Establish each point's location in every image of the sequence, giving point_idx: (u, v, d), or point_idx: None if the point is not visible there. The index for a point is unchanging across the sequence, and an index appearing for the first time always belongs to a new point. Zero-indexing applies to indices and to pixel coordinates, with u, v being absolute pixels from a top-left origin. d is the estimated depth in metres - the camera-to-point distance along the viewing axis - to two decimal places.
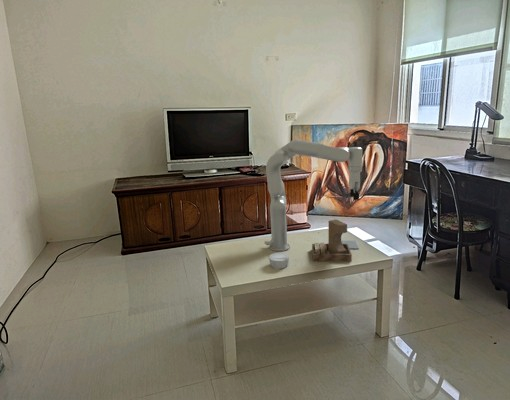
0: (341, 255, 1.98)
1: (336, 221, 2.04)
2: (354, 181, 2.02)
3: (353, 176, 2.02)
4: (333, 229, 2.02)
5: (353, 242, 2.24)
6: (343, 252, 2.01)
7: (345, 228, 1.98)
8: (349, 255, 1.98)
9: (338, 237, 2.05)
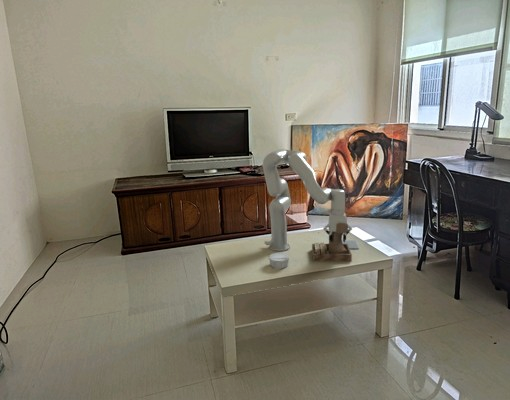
0: (341, 255, 1.98)
1: None
2: (346, 222, 2.01)
3: (346, 218, 1.99)
4: None
5: (353, 242, 2.24)
6: (343, 252, 2.01)
7: (346, 228, 1.98)
8: (349, 255, 1.98)
9: (339, 237, 2.05)
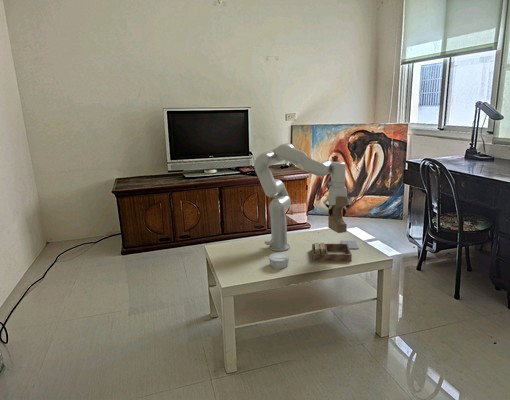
0: (341, 255, 1.98)
1: None
2: None
3: (346, 191, 1.96)
4: None
5: (353, 242, 2.24)
6: (343, 226, 1.98)
7: (345, 201, 1.95)
8: (349, 255, 1.98)
9: (338, 211, 2.01)
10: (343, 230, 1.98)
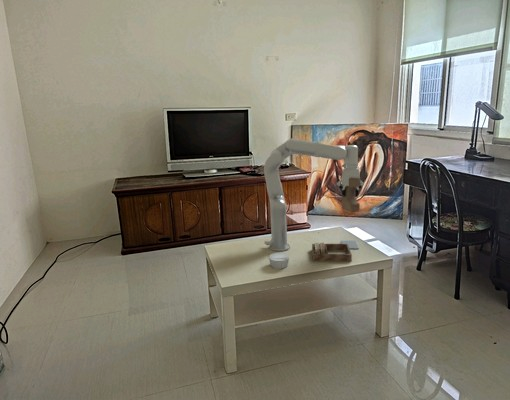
0: (341, 255, 1.98)
1: None
2: (359, 177, 2.10)
3: None
4: None
5: (353, 242, 2.24)
6: (356, 205, 2.10)
7: (358, 182, 2.07)
8: (349, 255, 1.98)
9: (351, 192, 2.14)
10: (356, 209, 2.11)
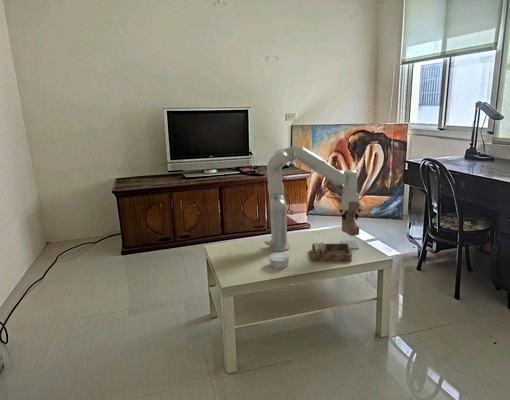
0: (341, 255, 1.98)
1: None
2: None
3: (358, 197, 2.12)
4: None
5: (353, 242, 2.24)
6: (356, 229, 2.14)
7: (357, 206, 2.11)
8: (349, 255, 1.98)
9: (351, 215, 2.17)
10: (356, 232, 2.14)
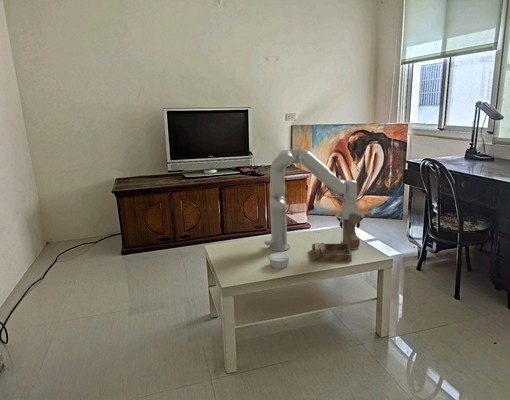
0: (341, 255, 1.98)
1: None
2: (358, 211, 2.14)
3: (358, 206, 2.13)
4: None
5: None
6: (356, 241, 2.15)
7: (358, 218, 2.12)
8: (349, 255, 1.98)
9: (352, 227, 2.19)
10: (356, 244, 2.16)
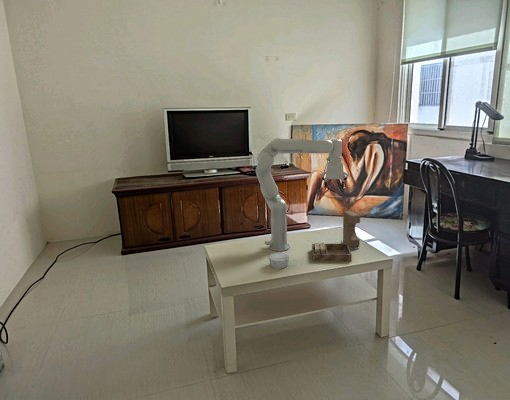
0: (341, 255, 1.98)
1: (350, 212, 2.18)
2: None
3: (342, 166, 2.14)
4: (347, 219, 2.17)
5: None
6: (356, 241, 2.15)
7: (358, 218, 2.12)
8: (349, 255, 1.98)
9: (352, 227, 2.19)
10: (356, 244, 2.16)
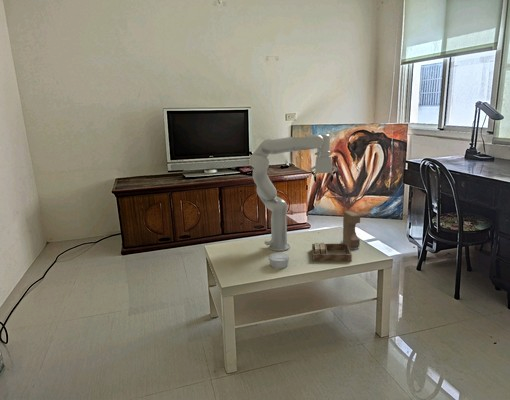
0: (341, 255, 1.98)
1: (350, 212, 2.18)
2: (331, 164, 2.19)
3: (331, 160, 2.18)
4: (347, 219, 2.17)
5: None
6: (356, 241, 2.15)
7: (358, 219, 2.12)
8: (349, 255, 1.98)
9: (352, 227, 2.19)
10: (356, 244, 2.16)
